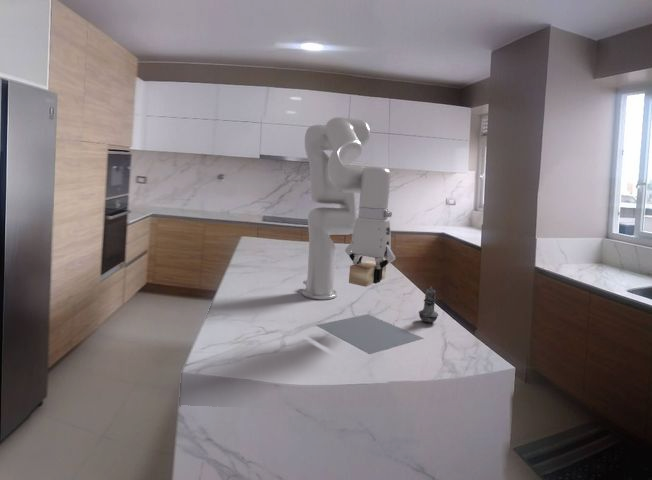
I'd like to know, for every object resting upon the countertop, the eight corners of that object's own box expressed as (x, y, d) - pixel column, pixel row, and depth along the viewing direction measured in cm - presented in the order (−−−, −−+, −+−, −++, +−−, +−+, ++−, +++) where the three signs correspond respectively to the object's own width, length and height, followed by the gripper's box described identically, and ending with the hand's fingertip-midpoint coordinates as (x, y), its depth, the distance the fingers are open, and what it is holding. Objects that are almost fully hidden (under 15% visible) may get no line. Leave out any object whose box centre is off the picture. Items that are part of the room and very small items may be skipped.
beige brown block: (369, 275, 118) (370, 259, 117) (384, 278, 115) (386, 262, 114) (348, 282, 108) (350, 265, 107) (365, 286, 105) (367, 269, 104)
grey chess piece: (423, 328, 119) (427, 288, 118) (413, 321, 125) (417, 283, 123) (441, 327, 121) (445, 288, 119) (431, 320, 127) (434, 283, 125)
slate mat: (315, 327, 115) (315, 325, 115) (367, 316, 127) (367, 314, 127) (369, 357, 98) (369, 354, 98) (423, 341, 110) (423, 338, 110)
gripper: (408, 217, 107) (401, 284, 110) (351, 210, 116) (347, 272, 119) (397, 218, 101) (390, 289, 104) (338, 211, 110) (333, 277, 113)
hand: (367, 279), depth 111 cm, fingers closed on beige brown block, 5 cm apart
